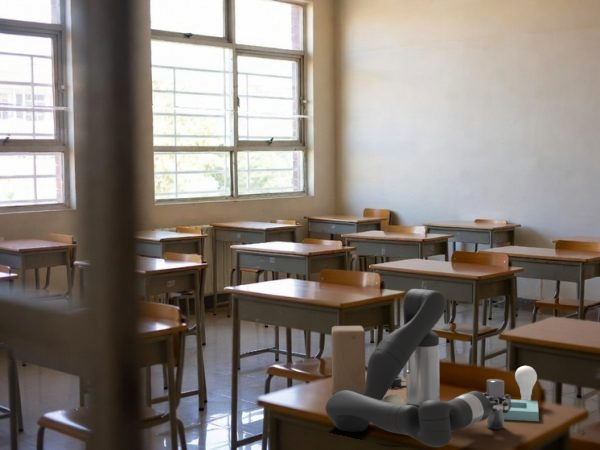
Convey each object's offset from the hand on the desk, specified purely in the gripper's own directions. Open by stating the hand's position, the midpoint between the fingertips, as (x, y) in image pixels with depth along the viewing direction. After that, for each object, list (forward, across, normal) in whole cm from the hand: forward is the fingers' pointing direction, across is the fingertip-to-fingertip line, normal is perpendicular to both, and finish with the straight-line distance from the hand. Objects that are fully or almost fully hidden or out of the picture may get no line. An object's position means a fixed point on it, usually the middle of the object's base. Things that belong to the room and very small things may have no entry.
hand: (499, 396), depth 209 cm
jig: (+12, -1, -7) cm, 14 cm away
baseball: (-12, -25, -8) cm, 29 cm away
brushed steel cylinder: (-2, 0, -7) cm, 8 cm away
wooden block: (+5, -53, -8) cm, 54 cm away
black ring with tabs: (+20, -47, -8) cm, 51 cm away
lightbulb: (+25, -4, -7) cm, 26 cm away
